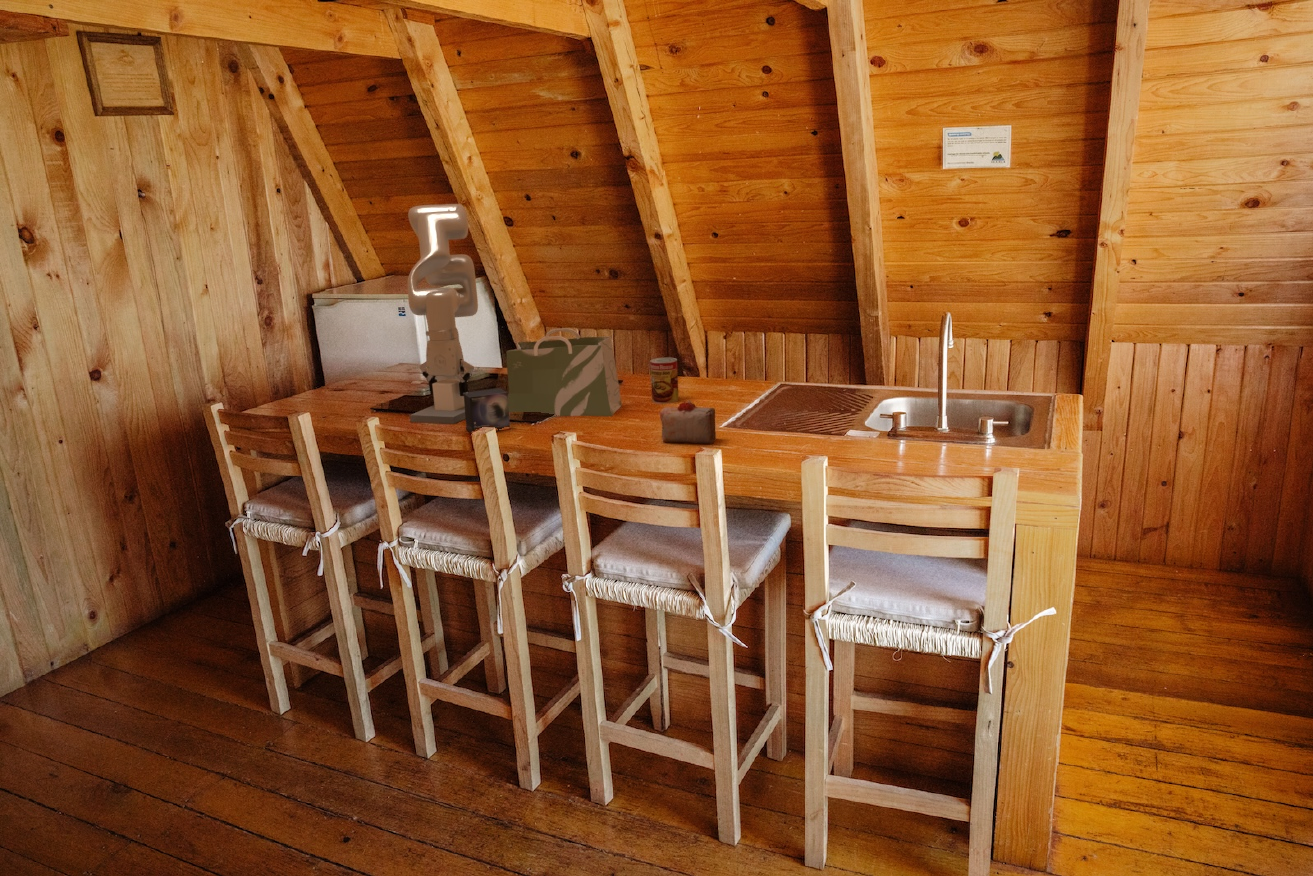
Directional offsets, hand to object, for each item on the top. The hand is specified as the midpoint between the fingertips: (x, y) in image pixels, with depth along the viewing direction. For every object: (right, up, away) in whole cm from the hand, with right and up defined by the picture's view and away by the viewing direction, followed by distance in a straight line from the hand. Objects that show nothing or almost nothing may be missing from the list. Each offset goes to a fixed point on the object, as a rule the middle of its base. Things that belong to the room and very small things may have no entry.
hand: (449, 394), depth 272 cm
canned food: (+62, -2, +7) cm, 62 cm away
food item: (+67, -13, -37) cm, 78 cm away
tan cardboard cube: (0, -4, +1) cm, 4 cm away
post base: (0, -6, +1) cm, 6 cm away
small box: (+14, -11, -18) cm, 25 cm away
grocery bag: (+33, -5, 0) cm, 33 cm away
